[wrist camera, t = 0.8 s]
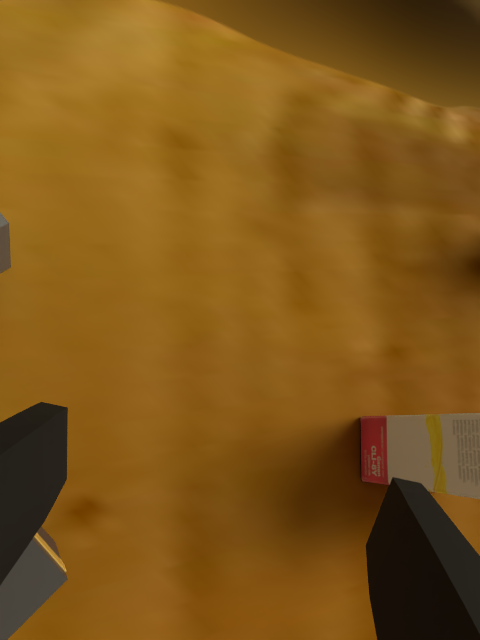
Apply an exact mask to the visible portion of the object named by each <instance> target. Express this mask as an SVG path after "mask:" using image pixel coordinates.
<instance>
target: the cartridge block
mask: <svg viewBox="0 0 480 640" xmlns="http://www.w3.org/2000/svg"><path fill="white" fill-rule="evenodd" d="M66 571H67V570H66V567H65V565H64V563H63V562H62V560H61V558H60V555H59V552H58V549H57V546H56V543H55V542H54V540H53V539H52V538H51V537H50V536H49V535H48V534H47V532H46V531H45V530H44V529H43V528H42V527H40V529H39V530H38V532H37V533H36V535H35V536H34V537H33V539H32V540H31V542H30V543H29V545H28V546H27V548H26V549H25V551H24V552H23V554H22V555H21V556H20V558H19V559H18V561H17V562H16V564H15V565H14V567H13V568H12V569H11V571H10V572H9V574H8V575H7V577H6V578H5V579H4V581H3V582H2V584H1V585H0V640H7V639H8V638H9V637H10V636H11V635H12V634H13V633H14V632H15V631H16V630H17V629H18V628H19V627H20V626H21V625H22V624H23V623H24V622H25V621H26V620H27V619H28V618H29V617H30V616H31V615H32V614H33V613H34V612H35V611H36V610H37V609H38V608H39V607H40V606H41V605H42V604H43V603H44V602H45V601H46V600H47V599H48V598H49V597H50V596H51V595H52V594H53V593H54V592H55V591H56V590H57V589H58V588H59V587H60V586H61V585H62V584H63V583H64V582H65V581H66V580H67V576H66V573H65V572H66Z"/></svg>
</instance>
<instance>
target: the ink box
mask: <svg viewBox="0 0 480 640" xmlns="http://www.w3.org/2000/svg"><path fill="white" fill-rule="evenodd" d="M360 421H361V475H362V476H361V479H362V481H363V482H371V483H378V484H385V485H390V482H391V480H392V477H395V478H400V479H404V480H409V481H414V482H419V483H422V485H423V486H424V487H425V488H426V489H427V491H431V492H437V493H444V494H451V495H457V496H463V497H470V498H477V499H480V413H469V414H438V415H400V416H365V417H361V419H360Z"/></svg>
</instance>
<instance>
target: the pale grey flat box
mask: <svg viewBox="0 0 480 640" xmlns="http://www.w3.org/2000/svg"><path fill="white" fill-rule="evenodd" d="M10 267H11V262H10V238H9V223H8V222H7V220H6V219H5V218H4V217H3V215H2V214H1V213H0V273H1V272H3V271H5V270H7V269H8V268H10Z"/></svg>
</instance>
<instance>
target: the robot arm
mask: <svg viewBox="0 0 480 640" xmlns="http://www.w3.org/2000/svg"><path fill="white" fill-rule="evenodd" d="M67 412H68V408H67V407H62V406H58V405H53V404H48V403H44V402H40V403H38V404H36V405H34V406H32V407H30V408H28V409H26V410H24V411H22V412H20V413H18V414H16V415H14V416H12V417H10V418H8V419H6V420H4V421H2V422H0V585H1V584H2V582H3V581H4V579H5V578H6V577H7V575H8V574H9V572H10V571H11V569H12V568H13V567H14V565H15V564H16V562H17V561H18V559H19V558H20V556H21V555H22V554H23V552H24V551H25V549H26V548H27V546H28V545H29V543H30V542H31V540H32V539H33V537H34V536H35V535H36V533H37V532H38V530H39V529H40V527H41V526H42V524H43V523H44V521H45V519H46V517H47V515H48V514H49V512H50V510H51V508H52V506H53V505H54V503H55V501H56V499H57V497H58V495H59V493H60V491H61V489H62V487H63V485H64V483H65V481H66V479H67ZM366 554H367V571H368V583H369V595H370V601H371V607H372V613H373V618H374V624H375V629H376V635H377V640H480V556H479V555H478V553H477V552H476V551H475V550H474V548H473V547H472V546H471V545H470V543H469V542H468V541H467V540H466V538H465V537H464V536H463V535H462V533H461V532H460V531H459V530H458V528H457V527H456V526H455V525H454V523H453V522H452V521H451V519H450V518H449V517H448V516H447V514H446V513H445V512H444V511H443V509H442V508H441V507H440V505H439V504H438V503H437V502H436V500H435V499H434V498H433V497H432V495H431V494H430V493H429V492H428V491H427V489H426V488H425V487H424V486H423V485H422V483H419V482H414V481H409V480H404V479H400V478H395V477H392V480H391V482H390V485H389V487H388V490H387V493H386V495H385V498H384V500H383V503H382V505H381V508H380V510H379V513H378V516H377V518H376V521H375V523H374V526H373V528H372V531H371V534H370V536H369V539H368V541H367V544H366Z"/></svg>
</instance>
